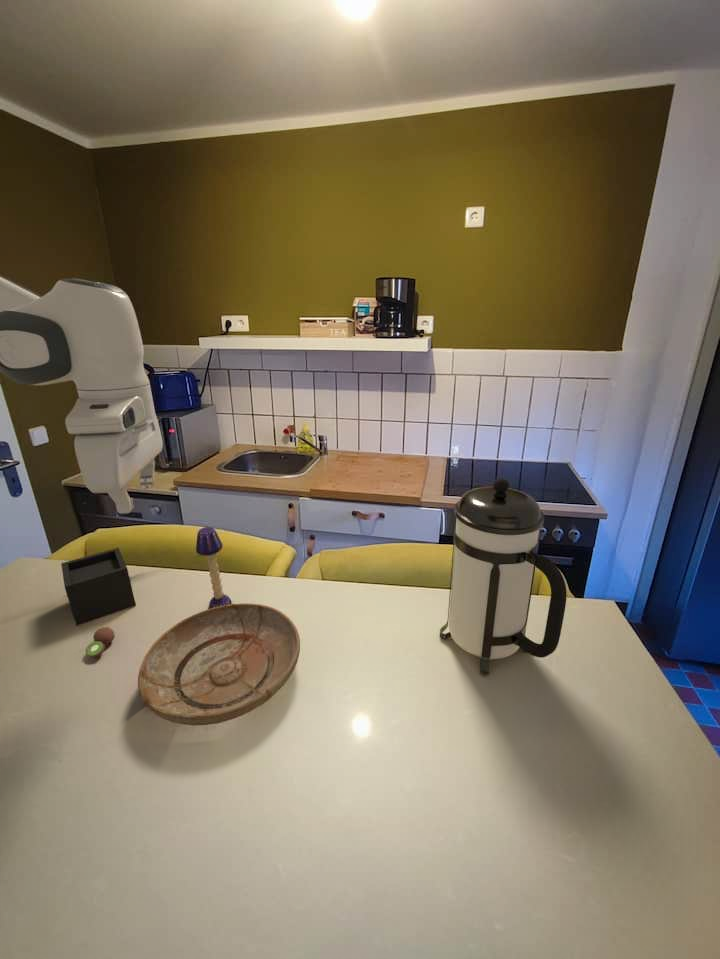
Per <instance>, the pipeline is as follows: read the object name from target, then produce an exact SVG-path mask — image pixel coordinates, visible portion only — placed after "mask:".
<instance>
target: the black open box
mask: <svg viewBox="0 0 720 959" xmlns="http://www.w3.org/2000/svg"><path fill="white" fill-rule="evenodd" d="M61 571H62V578H63V585H64V589H65V593H66V597H67V599H68V603H69V606H70V610H71V613H72V616H73V621H74V623H75V627H78V626H81V625H84V624H86V623H90V622H93V621H97V620H98V619H101V618H104V617H107V616H111V615H113V614H115V613H119V612H122V611H124V610H127V609H130V608H134V607H135V606H137V605H136V600H135V595H134V592H133V587H132V583H131V578H130V574H129V570H128V566H127V565H126V562H125V559H124V557H123V554H122V552H121V550H120V548H119V547H116V548H112V549H108V550H105V551H100V552H98V553H94V554H91V555H87V556H83V557H79V558H75V559H71V560H69V561H64V562H61Z"/></svg>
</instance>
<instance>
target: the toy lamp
mask: <svg viewBox="0 0 720 959" xmlns="http://www.w3.org/2000/svg"><path fill="white" fill-rule="evenodd" d="M220 538H221V537H220V536H219V534H218V532H217V530H216V529H215V528H214V527H212V526H205V527H202V528H200V529H199V530H197V534H196V545H195V552H196V553H197V555H200V556H203V557H204V556H205V557H206V562H207V565H208V566H207V569H208V571H209V578H210V583H211V585H212V586H211V589H212V591H213V597H211V599H210V600H209V603H208V609H211V608H214V607H219V606H223V605H229V604H233V601H232V599H231V598H230V596H229V595H227V594H224V591H223V585H222V578H221V577H220V576H221V573H220V570H219V564H218V558H217V553H219V552H220V551H221V550H222V549H223V543H222V541H221V539H220Z"/></svg>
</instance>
